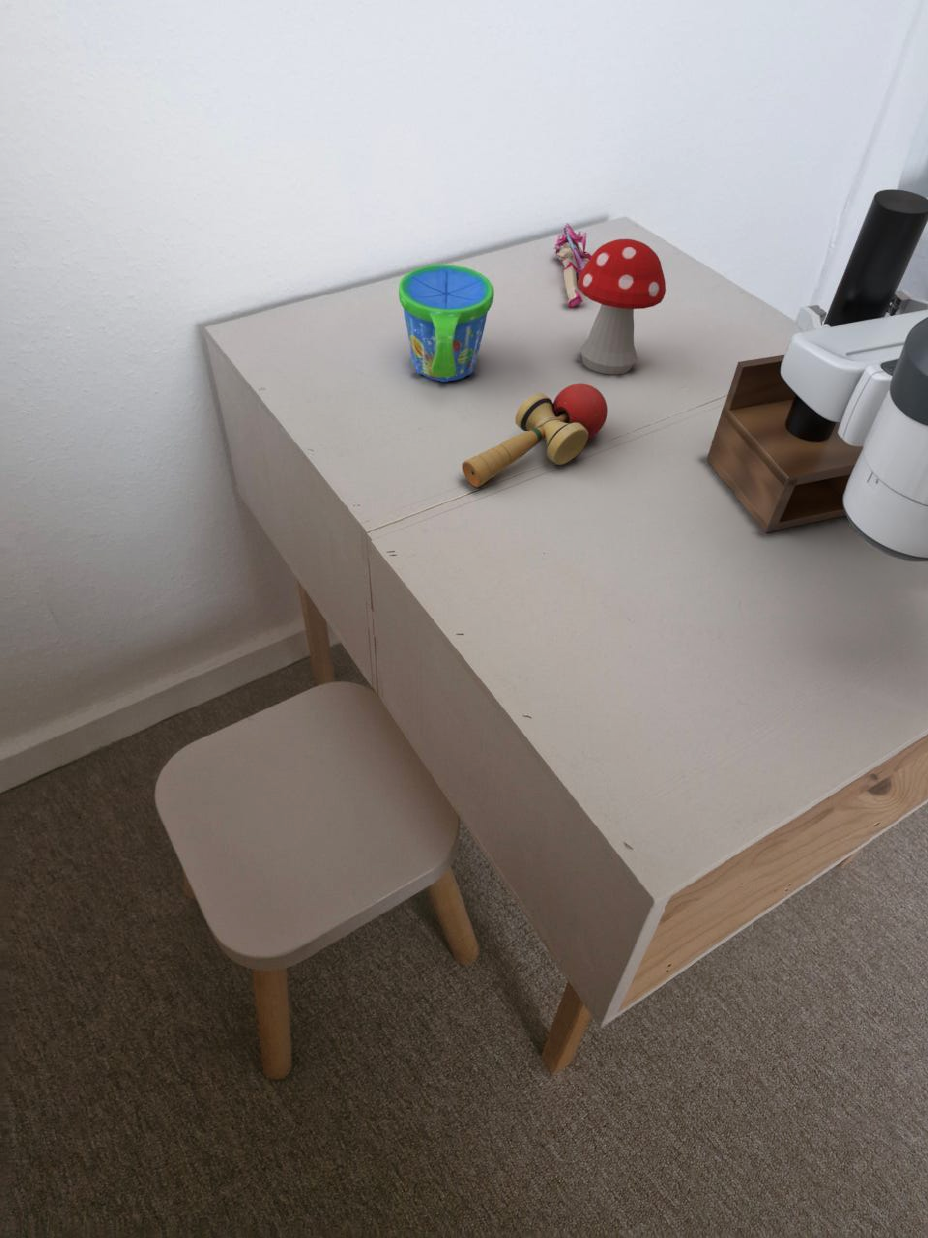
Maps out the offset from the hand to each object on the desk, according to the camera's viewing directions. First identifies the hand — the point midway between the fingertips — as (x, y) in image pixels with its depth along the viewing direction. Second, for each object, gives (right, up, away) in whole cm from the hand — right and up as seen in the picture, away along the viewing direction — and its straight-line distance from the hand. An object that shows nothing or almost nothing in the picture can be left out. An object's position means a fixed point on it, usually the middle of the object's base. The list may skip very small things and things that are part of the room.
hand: (849, 305), depth 75 cm
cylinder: (0, -9, +9) cm, 13 cm away
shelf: (-1, -14, +14) cm, 20 cm away
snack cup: (-37, +2, +26) cm, 45 cm away
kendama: (-27, -10, +16) cm, 33 cm away
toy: (-19, +19, +42) cm, 50 cm away
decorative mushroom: (-17, +3, +28) cm, 33 cm away
